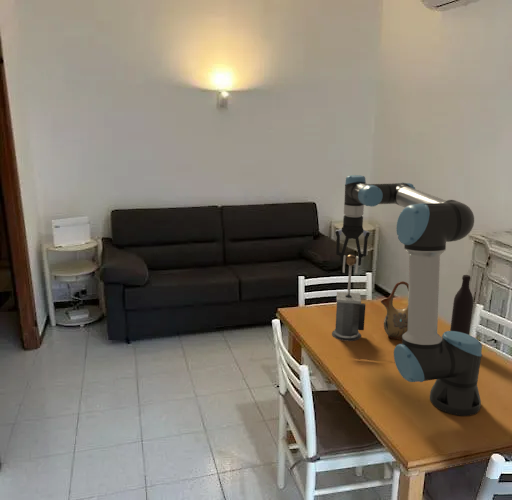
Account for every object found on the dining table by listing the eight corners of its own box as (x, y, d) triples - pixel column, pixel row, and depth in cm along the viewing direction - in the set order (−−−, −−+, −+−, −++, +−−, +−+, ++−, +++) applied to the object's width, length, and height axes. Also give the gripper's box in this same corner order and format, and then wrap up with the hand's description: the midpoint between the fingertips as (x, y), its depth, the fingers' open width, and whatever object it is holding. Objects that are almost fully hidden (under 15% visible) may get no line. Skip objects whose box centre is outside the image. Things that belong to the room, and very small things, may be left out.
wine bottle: (467, 345, 199) (476, 274, 191) (466, 352, 193) (476, 279, 185) (449, 341, 202) (457, 272, 194) (447, 349, 196) (456, 277, 188)
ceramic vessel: (413, 333, 209) (419, 277, 202) (420, 343, 200) (426, 285, 194) (375, 333, 209) (379, 277, 202) (380, 343, 200) (385, 284, 194)
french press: (363, 341, 200) (366, 301, 196) (334, 338, 202) (336, 300, 197) (362, 331, 210) (365, 293, 205) (334, 328, 211) (336, 291, 207)
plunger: (356, 314, 199) (359, 257, 193) (339, 313, 200) (342, 256, 194) (355, 308, 206) (359, 253, 199) (339, 307, 207) (342, 252, 200)
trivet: (361, 343, 199) (361, 342, 199) (331, 341, 201) (331, 339, 201) (360, 331, 211) (360, 329, 211) (332, 329, 213) (332, 327, 212)
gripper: (375, 214, 195) (371, 270, 201) (331, 212, 197) (328, 268, 204) (376, 218, 188) (372, 276, 194) (330, 216, 190) (328, 273, 196)
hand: (350, 272), depth 199 cm, fingers closed on plunger, 4 cm apart
